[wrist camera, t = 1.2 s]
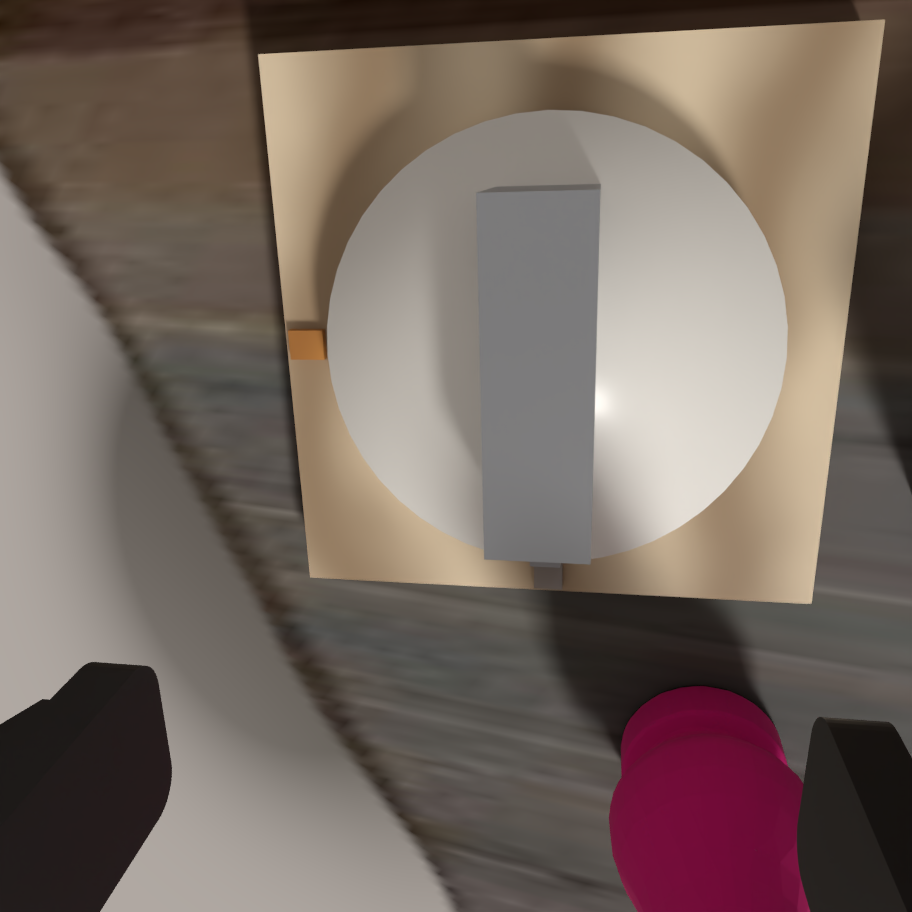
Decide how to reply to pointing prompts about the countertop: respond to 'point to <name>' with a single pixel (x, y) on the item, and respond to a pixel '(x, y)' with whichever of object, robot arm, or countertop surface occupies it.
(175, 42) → the countertop surface
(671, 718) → the pepper mill
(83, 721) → the robot arm
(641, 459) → the dial
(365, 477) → the dial base
